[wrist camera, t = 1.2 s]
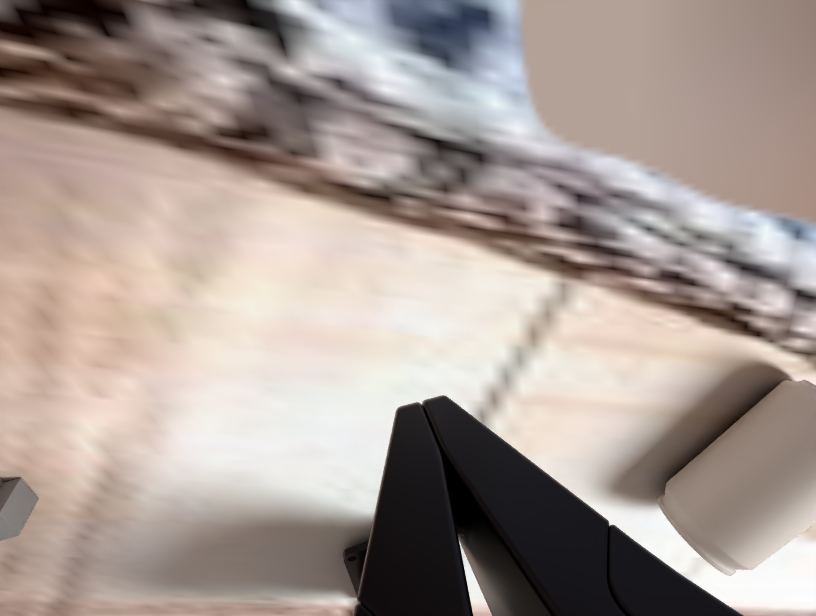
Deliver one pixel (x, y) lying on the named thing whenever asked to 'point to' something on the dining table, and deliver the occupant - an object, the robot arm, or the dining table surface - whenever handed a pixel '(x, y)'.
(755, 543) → the beverage can
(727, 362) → the dining table surface
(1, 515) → the tray
